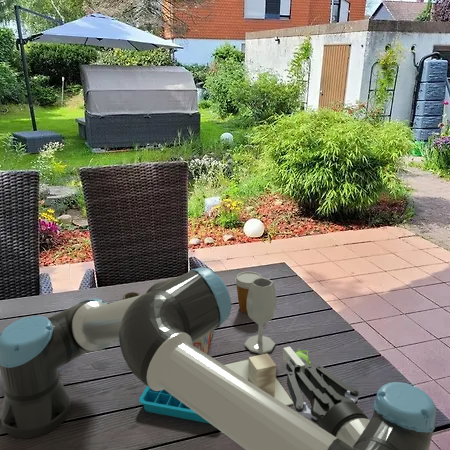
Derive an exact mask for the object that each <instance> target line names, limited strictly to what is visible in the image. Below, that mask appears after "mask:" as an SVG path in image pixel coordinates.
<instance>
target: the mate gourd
mask: <svg viewBox="0 0 450 450" xmlns="http://www.w3.org/2000/svg"><path fill="white" fill-rule="evenodd" d="M140 295H141V294H140V293H138V292H136V291H131V292H130V291H129V292H127V293H125V294H124V295H123V296H122V300H124V299H128V298H132V297H136V296H140Z"/></svg>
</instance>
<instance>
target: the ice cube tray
mask: <svg viewBox="0 0 450 450" xmlns="http://www.w3.org/2000/svg"><path fill="white" fill-rule="evenodd" d="M138 401H139V403H140V404H141V405H143V409H144V411H145V412H147V413H153V414H159V415H163V416H169V417H174V418H180V419H185V420H188V421H189V420H190V421H195V422H200V423H205V424H210V423H209V422H208V421H206V420H205V419H204V418H202V417H201V416H200V415H198V414H197V413H195V412H194V411H193V410H191V409H190V408H189V407H187V406H186V405H185V404H183V403H182V402H181V401H179V400H178V399H176V398H175V397H174V396H172V395H171V394H170V393H168V392H167V391H166V390H161V391H154V390H152V389H151V388H149V387H148V386H147V385H146V386H145V388H144V390H143V392H142V394H141V395H140V396H139V398H138Z"/></svg>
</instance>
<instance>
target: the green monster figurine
mask: <svg viewBox="0 0 450 450" xmlns="http://www.w3.org/2000/svg"><path fill="white" fill-rule="evenodd" d="M295 353H296V354H297V356H298V357H299V358H301V357H302V358H303V359H304V360H305V361H306V362H307V363H308V364H309V365H311V364H312V361H310V357H309V352H308V350H301V348H297V350H296V352H295ZM305 353H306V354H305ZM311 366H312V365H311ZM305 376H306V375H305Z"/></svg>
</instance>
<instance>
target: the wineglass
mask: <svg viewBox="0 0 450 450" xmlns="http://www.w3.org/2000/svg"><path fill="white" fill-rule="evenodd" d="M275 287H276V286H275V284H274V281H272V280H271V279H270V278H267V277H263V276H262V277H260V278H256V279H254V280H253V281H252V282H251V285H250V287H249V290H248V295H247V306H246V308H247V312H248V313H247V316H248V318H250V319H251V320H252V321H253V322H254V323H256V325H257V334H256V335H252V336H249V337H248V338H247V340H246V341H245V343H244V347H245V348H246V349H248V350H249V352H250V353H254V354H258V355H262V354H267V353H271V352H272V351H273V349H274V347H275V346H276V343H275V342H274V341H273V339H272V338H270V337H269V336H265V335H263V334H264V325H265V324H267V323H269V322H271V321H272V319H273V318H274V314H275V312H276V310H277V292H276V288H275Z"/></svg>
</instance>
